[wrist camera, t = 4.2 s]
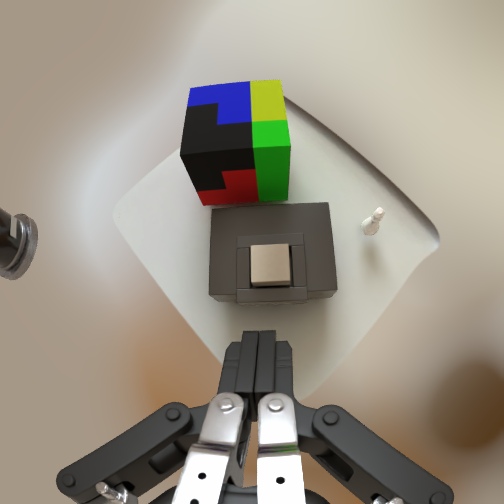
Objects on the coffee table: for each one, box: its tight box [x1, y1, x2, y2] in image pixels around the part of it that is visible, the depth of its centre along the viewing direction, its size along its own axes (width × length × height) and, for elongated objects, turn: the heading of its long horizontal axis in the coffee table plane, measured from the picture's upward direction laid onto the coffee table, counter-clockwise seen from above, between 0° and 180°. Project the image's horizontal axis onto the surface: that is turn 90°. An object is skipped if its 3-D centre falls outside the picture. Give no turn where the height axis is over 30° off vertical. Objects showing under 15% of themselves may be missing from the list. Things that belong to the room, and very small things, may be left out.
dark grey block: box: [209, 202, 337, 305], centre depth 29 cm, size 12×10×6 cm
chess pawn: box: [361, 208, 384, 236], centre depth 30 cm, size 3×2×4 cm
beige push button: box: [251, 244, 290, 286], centre depth 25 cm, size 3×3×2 cm
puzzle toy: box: [180, 80, 291, 206], centre depth 31 cm, size 10×10×10 cm
